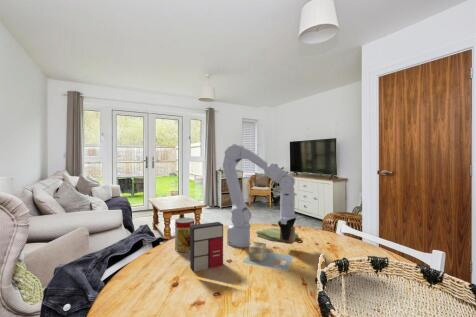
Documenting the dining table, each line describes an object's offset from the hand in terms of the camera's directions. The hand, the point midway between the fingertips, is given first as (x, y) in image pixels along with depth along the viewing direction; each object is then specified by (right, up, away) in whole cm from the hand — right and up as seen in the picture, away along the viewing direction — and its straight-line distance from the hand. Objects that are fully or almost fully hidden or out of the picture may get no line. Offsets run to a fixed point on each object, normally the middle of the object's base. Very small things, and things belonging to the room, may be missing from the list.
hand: (287, 237), depth 95 cm
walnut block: (0, -1, 0) cm, 1 cm away
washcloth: (-1, -7, +18) cm, 20 cm away
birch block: (-13, -5, -8) cm, 16 cm away
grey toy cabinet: (-31, -6, -15) cm, 35 cm away
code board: (-9, -6, -9) cm, 14 cm away
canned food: (-43, -6, +4) cm, 43 cm away
